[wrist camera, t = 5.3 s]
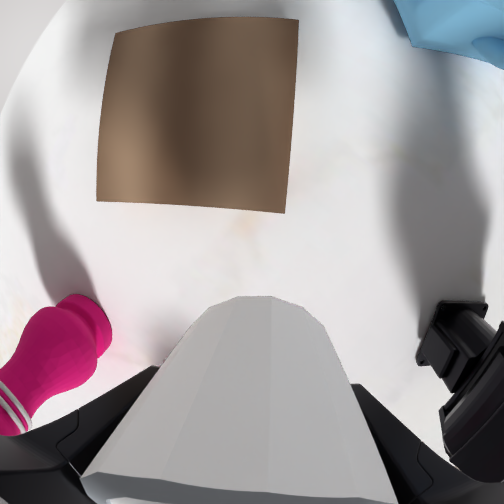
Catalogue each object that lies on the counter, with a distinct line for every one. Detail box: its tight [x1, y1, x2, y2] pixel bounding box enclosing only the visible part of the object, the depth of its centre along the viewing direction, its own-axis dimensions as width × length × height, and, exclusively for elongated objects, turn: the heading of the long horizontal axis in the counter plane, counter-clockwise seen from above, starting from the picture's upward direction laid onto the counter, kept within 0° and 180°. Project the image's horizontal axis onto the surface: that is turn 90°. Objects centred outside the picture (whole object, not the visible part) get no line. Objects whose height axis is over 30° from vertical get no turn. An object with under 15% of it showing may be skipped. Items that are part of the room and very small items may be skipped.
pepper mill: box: [0, 294, 112, 436], centre depth 13 cm, size 7×7×20 cm
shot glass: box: [80, 296, 398, 504], centre depth 7 cm, size 7×7×7 cm
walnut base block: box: [96, 17, 299, 214], centre depth 15 cm, size 12×12×3 cm
